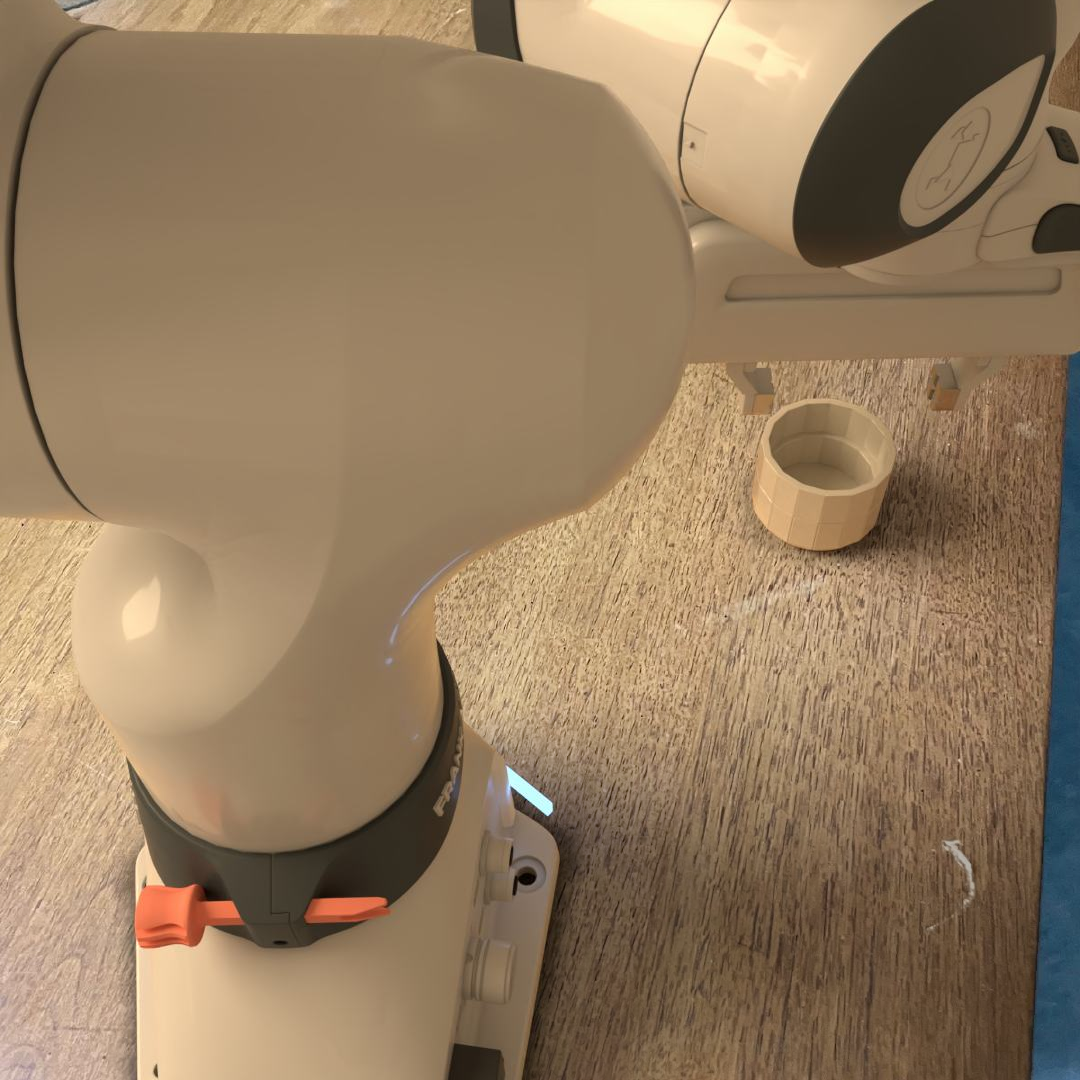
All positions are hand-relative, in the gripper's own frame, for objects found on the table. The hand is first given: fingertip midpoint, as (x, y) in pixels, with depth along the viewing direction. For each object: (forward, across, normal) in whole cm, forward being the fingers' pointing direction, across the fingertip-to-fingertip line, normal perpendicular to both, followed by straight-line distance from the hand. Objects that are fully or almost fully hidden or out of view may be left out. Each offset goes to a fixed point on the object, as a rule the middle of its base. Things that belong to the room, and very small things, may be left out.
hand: (848, 403), depth 60 cm
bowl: (+8, 0, 0) cm, 8 cm away
